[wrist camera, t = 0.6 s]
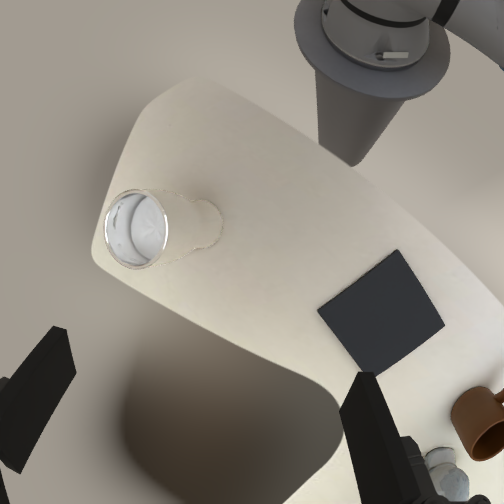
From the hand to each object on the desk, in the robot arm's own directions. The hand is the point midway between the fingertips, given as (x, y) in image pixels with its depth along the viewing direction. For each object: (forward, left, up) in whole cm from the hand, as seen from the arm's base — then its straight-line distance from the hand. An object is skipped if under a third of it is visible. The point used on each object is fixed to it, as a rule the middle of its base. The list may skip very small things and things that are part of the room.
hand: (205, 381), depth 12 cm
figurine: (-1, +42, -26) cm, 49 cm away
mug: (-13, +33, -26) cm, 44 cm away
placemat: (-7, +12, -25) cm, 29 cm away
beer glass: (+4, -11, -26) cm, 28 cm away
